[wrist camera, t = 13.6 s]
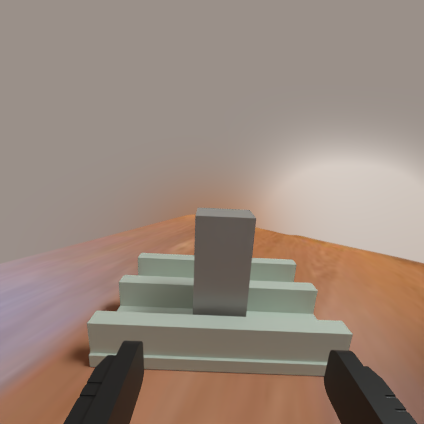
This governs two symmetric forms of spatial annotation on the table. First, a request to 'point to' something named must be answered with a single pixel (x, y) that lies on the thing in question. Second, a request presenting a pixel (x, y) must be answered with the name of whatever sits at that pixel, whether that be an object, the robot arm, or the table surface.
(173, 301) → the pale green ridged block
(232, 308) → the grey rectangular block
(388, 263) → the table surface
